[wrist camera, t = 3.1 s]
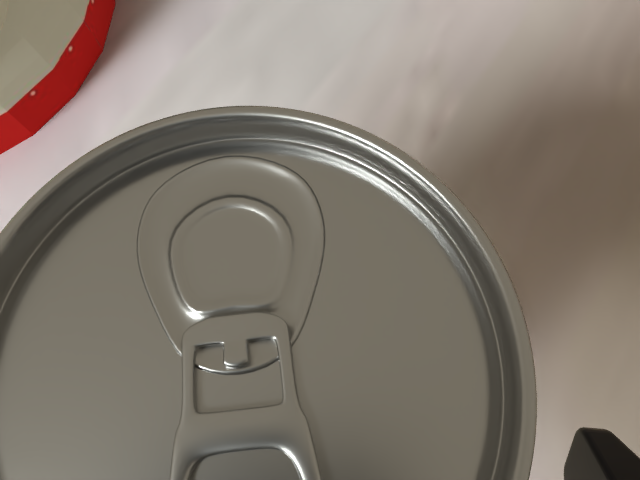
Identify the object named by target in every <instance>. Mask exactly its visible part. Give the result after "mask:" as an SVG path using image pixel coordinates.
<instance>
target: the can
mask: <svg viewBox="0 0 640 480" xmlns="http://www.w3.org/2000/svg"><path fill="white" fill-rule="evenodd" d="M536 420H537V393H536V378H535V367H534V360H533V353H532V348H531V343H530V338H529V334H528V329H527V325H526V322H525V318H524V315H523V311H522V308H521V305H520V302H519V299H518V296H517V294H516V291H515V289H514V286H513V284H512V281H511V279H510V277H509V275H508V273H507V270H506V268H505V266H504V264H503V262H502V260H501V258H500V257H499V255H498V253H497V251H496V250H495V248H494V246H493V244H492V243H491V241H490V240H489V238H488V236H487V235H486V233H485V232H484V230H483V229H482V228H481V226H480V225H479V223H478V222H477V220H476V219H475V218H474V217H473V215H472V214H471V213H470V212H469V210H468V209H467V208H466V207H465V206H464V204H463V203H462V202H461V201H460V200H459V199H458V198H457V197H456V195H455V194H454V193H453V192H452V191H451V190H450V189H449V188H448V187H447V186H446V185H445V184H444V183H443V182H441V181H440V180H439V179H438V178H437V177H436V176H435V175H434V174H432V173H431V172H430V171H429V170H428V169H426V168H425V167H424V166H423V165H421V164H420V163H419V162H417V161H416V160H415V159H413V158H412V157H411V156H409V155H408V154H406V153H405V152H403V151H401V150H400V149H398V148H397V147H395V146H393V145H392V144H390V143H388V142H387V141H385V140H383V139H381V138H379V137H377V136H375V135H373V134H371V133H369V132H367V131H365V130H362V129H360V128H357V127H355V126H353V125H350V124H347V123H345V122H342V121H339V120H336V119H333V118H329V117H326V116H322V115H318V114H314V113H310V112H305V111H300V110H294V109H288V108H279V107H268V106H229V107H217V108H209V109H202V110H197V111H191V112H186V113H182V114H178V115H174V116H170V117H167V118H163V119H160V120H157V121H154V122H151V123H148V124H145V125H143V126H140V127H137V128H135V129H133V130H130V131H128V132H126V133H124V134H121V135H119V136H117V137H115V138H113V139H111V140H109V141H107V142H105V143H104V144H102V145H100V146H98V147H97V148H95V149H93V150H91V151H90V152H88V153H87V154H85V155H84V156H82V157H80V158H79V159H78V160H76V161H75V162H73V163H72V164H70V165H69V166H68V167H66V168H65V169H64V170H62V171H61V172H60V173H58V174H57V175H56V176H55V177H54V178H52V179H51V180H50V181H49V182H48V183H46V184H45V185H44V186H43V187H42V188H41V189H40V190H39V191H38V192H37V193H36V194H35V195H34V196H32V197H31V198H30V199H29V200H28V201H27V203H26V204H25V205H24V206H23V207H22V208H21V209H20V210H19V211H18V212H17V213H16V215H15V216H14V217H13V218H12V219H11V220H10V221H9V223H8V224H7V225H6V226H5V228H4V229H3V230H2V232H1V233H0V480H529V475H530V470H531V465H532V459H533V453H534V445H535V435H536Z"/></svg>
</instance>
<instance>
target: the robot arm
mask: <svg viewBox="0 0 640 480" xmlns="http://www.w3.org/2000/svg"><path fill="white" fill-rule="evenodd" d="M564 480H640V458H639V457H638V456H637V455H636V454H635V453H633V452H632V451H631V450H630V449H629V448H628V447H627V446H626V445H625V444H624V443H623V442H622V441H621V440H619V439H618V438H617V437H616V436H615V435H614V434H613V433H612V432H610V431H608V430H606V429H597V428H585V427H583V428H580V429H578V430H577V431H576V434H575V436H574V439H573V442H572V445H571V448H570V451H569V454H568V457H567V460H566V463H565V467H564Z"/></svg>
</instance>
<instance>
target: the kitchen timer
mask: <svg viewBox="0 0 640 480" xmlns="http://www.w3.org/2000/svg"><path fill="white" fill-rule="evenodd" d="M114 8H115V0H0V154H2V153H3V152H5V151H7V150H9V149H10V148H12V147H14V146H16V145H17V144H19V143H21V142H22V141H24V140H26V139H28V138H29V137H31V136H33V135H34V134H35V133H36V132H37V131H38V130H39V129H40V128H41V127H42V126H44V125H45V124H46V123H47V122H48V121H49V120H50V119H51V118H52V117H53V116H54V115H55V114H56V113H57V112H58V111H59V110H60V109H61V108H62V107H63V106H64V105H65V104H67V103H68V102H69V101H70V100H71V99H72V98H73V97H74V96H75V95H76V93H77V91H78V90H79V88H80V87H81V85H82V83H83V82H84V80H85V78H86V77H87V75H88V74H89V72H90V70H91V69H92V67H93V66H94V64H95V62H96V61H97V59H98V57H99V56H100V54H101V53H102V51H103V48H104V44H105V41H106V37H107V33H108V30H109V26H110V22H111V19H112V15H113V11H114Z"/></svg>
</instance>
